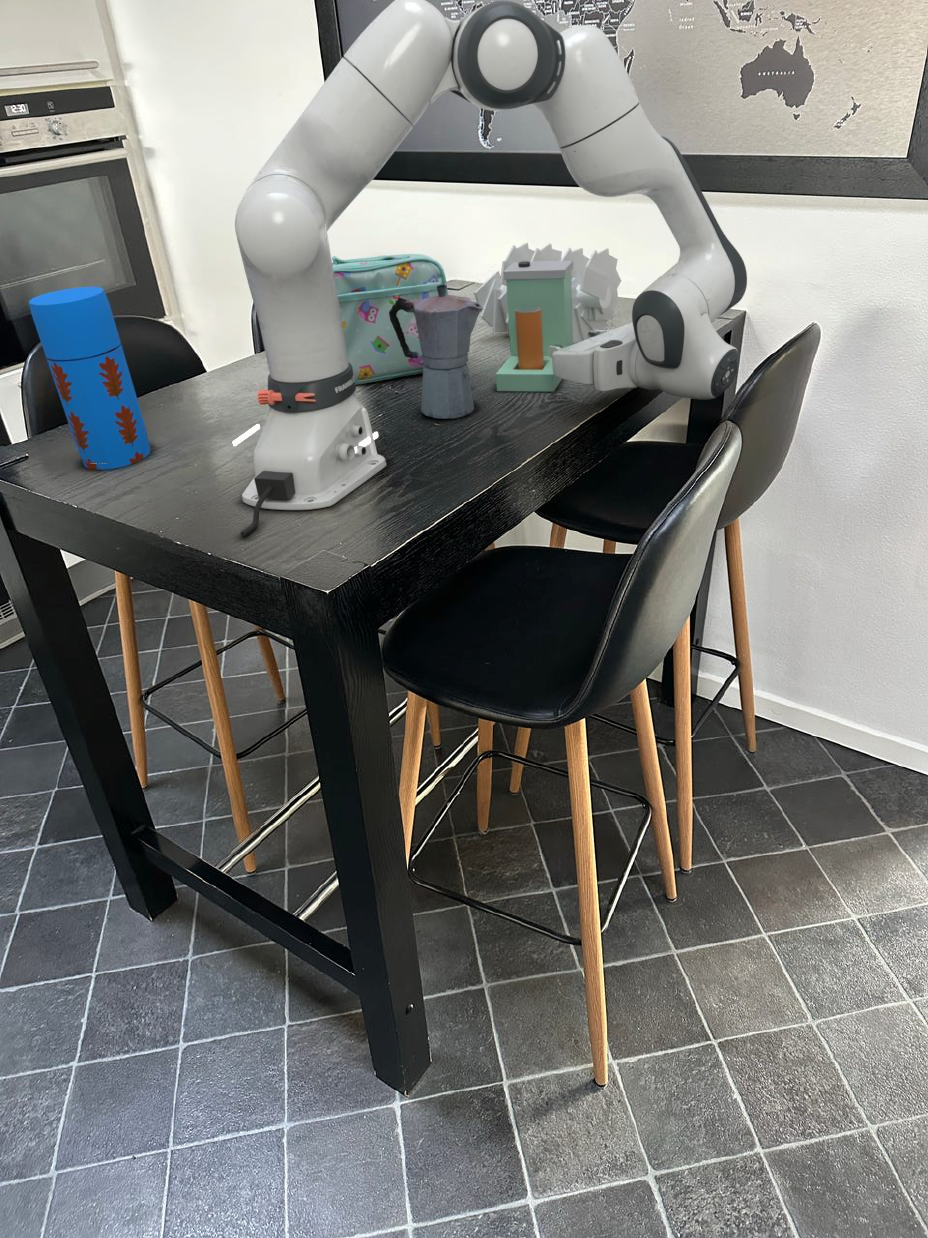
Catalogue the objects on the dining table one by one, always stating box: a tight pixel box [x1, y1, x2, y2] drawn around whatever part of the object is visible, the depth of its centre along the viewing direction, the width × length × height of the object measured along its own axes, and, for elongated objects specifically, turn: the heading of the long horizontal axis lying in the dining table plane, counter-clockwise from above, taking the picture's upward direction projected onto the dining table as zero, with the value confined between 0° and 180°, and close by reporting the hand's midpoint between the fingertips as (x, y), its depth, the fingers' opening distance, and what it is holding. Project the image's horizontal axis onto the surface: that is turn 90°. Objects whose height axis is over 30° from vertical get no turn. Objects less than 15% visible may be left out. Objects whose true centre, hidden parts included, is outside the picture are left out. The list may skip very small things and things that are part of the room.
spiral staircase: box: [473, 242, 622, 344], centre depth 174 cm, size 18×18×25 cm
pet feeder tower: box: [504, 260, 574, 356], centre depth 160 cm, size 7×11×18 cm, turn 73°
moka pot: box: [389, 285, 483, 420], centre depth 144 cm, size 10×15×20 cm, turn 78°
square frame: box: [495, 355, 563, 393], centre depth 157 cm, size 10×10×3 cm
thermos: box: [28, 286, 151, 471], centre depth 139 cm, size 11×11×25 cm
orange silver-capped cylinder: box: [515, 305, 544, 370], centre depth 155 cm, size 4×4×12 cm
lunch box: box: [331, 253, 449, 386], centre depth 163 cm, size 27×10×21 cm, turn 102°
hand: (571, 342), depth 147 cm, fingers open, 8 cm apart
